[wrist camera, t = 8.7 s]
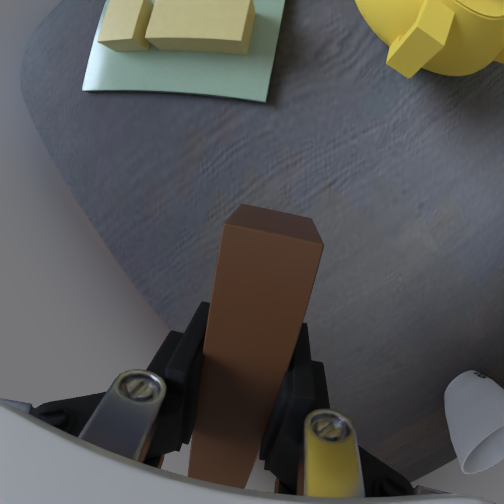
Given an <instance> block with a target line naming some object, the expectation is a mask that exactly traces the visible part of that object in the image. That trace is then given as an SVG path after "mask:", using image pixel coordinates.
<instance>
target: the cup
mask: <svg viewBox="0 0 504 504" xmlns="http://www.w3.org/2000/svg"><path fill="white" fill-rule="evenodd" d="M444 402H445V415H446V419H447V423H448V428H449V432H450V437H451V441H452V444H453V446H454V449H455V452H456V455H457V458H458V461H459V464H460V467H461V470H462V472H463V473H465V474H476V473H480V472H482V471H485V470H487V469H489V468H491V467H493V466H494V465H496V464H498V463H499V462H501V461H502V460H503V459H504V389H502V388H501V387H500V386H499V385H498V384H497V383H495V382H494V381H493V380H492V379H490V378H488V377H487V376H485V375H483V374H481V373H479V372H477V371H475V370H470V371H466V372H464V373H462V374H460V375H458V376H457V377H456V378H455V379H453V380H452V381H451V383H450V384H449V385H448V387H447V388H446V390H445V393H444Z"/></svg>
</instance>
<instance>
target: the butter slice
mask: <svg viewBox="0 0 504 504" xmlns="http://www.w3.org/2000/svg"><path fill="white" fill-rule="evenodd" d="M153 8H154V3H153V2H152V1H151V0H110V1H109V4H108V7H107V10H106V13H105V16H104V19H103V23H102V26H101V29H100V33H99V36H98V40H97V42H98V43H100V44H102V45H104V46H106V47H108V48H110V49H112V50H113V51H115V52H122V51H148V50H149V47H150V43H151V42H149V41H148V40H147V39H145V35H146V32H147V28H148V25H149V21H150V18H151V14H152V11H153Z"/></svg>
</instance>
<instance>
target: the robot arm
mask: <svg viewBox="0 0 504 504" xmlns="http://www.w3.org/2000/svg"><path fill="white" fill-rule="evenodd" d="M209 307H210V303H207V302H203V301H202V302H201V304H200V305H199V307H198V309H197V311H196V313H195V314H194V316H193V318H192V320H191V322H190V323H189V325H188V327H187V329H186V331H185V333H180V332H176V331H173V330H172V331H170V333H169V334H168V336H167V337H166V339H165V341H164V342H163V344H162V345H161V347H160V349H159V350H158V352H157V353H156V355H155V356H154V358H153V360H152V362H151V363H150V365H149V366H148V368H147V369H146V370H141V369H138V370H135V369H134V370H129V371H125V372H123V373H121V374H120V375H119V376H118V377H117V378H116V379H115V380H114V382H113V384H112V385H111V386H110V388H109V389H108V391H107V392H103V393H98V394H92V395H87V396H82V397H76V398H70V399H65V400H59V401H52V402H48V403H44V404H42V405H40V406H38V407H37V408H33V407H32V404H30V403H24V402H18V401H13V400H8V399H3V398H0V504H496V503H494V502H492V501H490V500H488V499H484V498H482V497H476V496H471V495H465V494H464V495H463V494H452V493H447V492H443V491H439V490H435V489H431V488H427V487H423V486H419V485H417V486H416V487H415V488H412V485H411V484H410V482H409V481H408V480H407V479H406V478H405V477H403V476H402V475H401V474H399V473H398V472H396V471H395V470H393V469H392V468H390V467H389V466H387V465H386V464H384V463H383V462H381V461H380V460H378V459H377V458H376V457H374V456H373V455H371V454H370V453H368V452H367V451H366V450H364V449H363V448H361V447H360V446H359V445H358V443H357V437H356V431H355V427H354V425H353V423H352V421H351V420H350V419H349V418H348V417H347V416H345V415H344V414H343V413H340V412H338V411H336V410H332V409H330V404H329V398H328V391H327V384H326V378H325V371H324V365H323V363H322V362H318V361H312V360H311V353H310V344H309V336H308V327H307V323H302V326H301V330H300V333H299V336H298V340H297V343H296V346H295V349H294V352H293V355H292V359H291V362H290V365H289V368H288V371H287V372H285V373H284V376H283V379H282V382H281V385H280V388H279V391H278V394H277V397H276V400H275V403H274V406H273V409H272V412H271V415H270V418H269V420H268V423H267V426H266V429H265V432H264V434H263V437H262V440H261V445H260V455H259V459H260V460H265V466H264V469H265V470H270V471H271V472H272V473H273V474H274V475H275V476H276V477H277V479H276V482H275V491H274V493H269V492H262V491H255V490H249V489H243V488H237V487H232V486H226V485H221V484H216V483H212V482H207V481H203V480H199V479H195V478H191V477H186V476H183V475H179V474H176V473H172V472H168V471H165V470H162V469H161V466H162V463H163V460H164V454H167V453H169V452H172V451H180V448H181V445H182V443H184V444H189V441H190V438H191V435H192V432H193V429H194V425H195V417H196V410H197V402H198V395H199V387H200V380H201V373H202V366H203V359H204V355H203V348H204V341H205V334H206V327H207V321H208V314H209Z"/></svg>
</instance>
